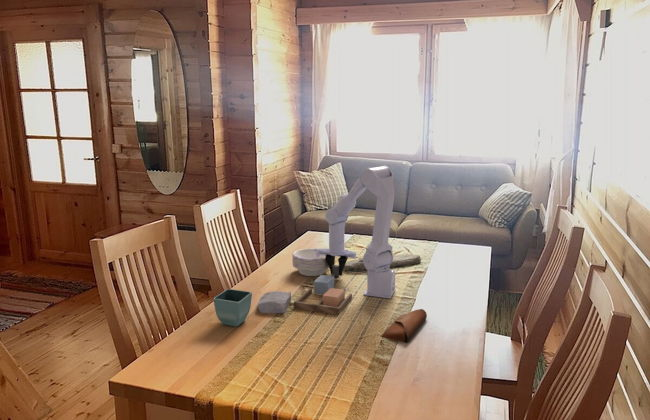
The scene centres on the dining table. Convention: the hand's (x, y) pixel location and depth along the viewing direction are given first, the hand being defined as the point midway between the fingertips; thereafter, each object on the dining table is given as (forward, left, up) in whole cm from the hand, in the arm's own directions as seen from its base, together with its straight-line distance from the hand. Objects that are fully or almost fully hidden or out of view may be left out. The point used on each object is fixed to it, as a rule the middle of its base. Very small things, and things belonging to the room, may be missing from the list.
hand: (336, 274), depth 195 cm
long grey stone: (-13, -20, -2) cm, 24 cm away
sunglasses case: (-33, +33, -2) cm, 47 cm away
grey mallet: (0, +8, -2) cm, 9 cm away
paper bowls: (+11, -3, -2) cm, 12 cm away
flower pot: (+17, +47, -2) cm, 50 cm away
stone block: (+11, +31, -2) cm, 33 cm away
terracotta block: (-7, +24, -2) cm, 25 cm away
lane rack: (-4, +24, -2) cm, 24 cm away
